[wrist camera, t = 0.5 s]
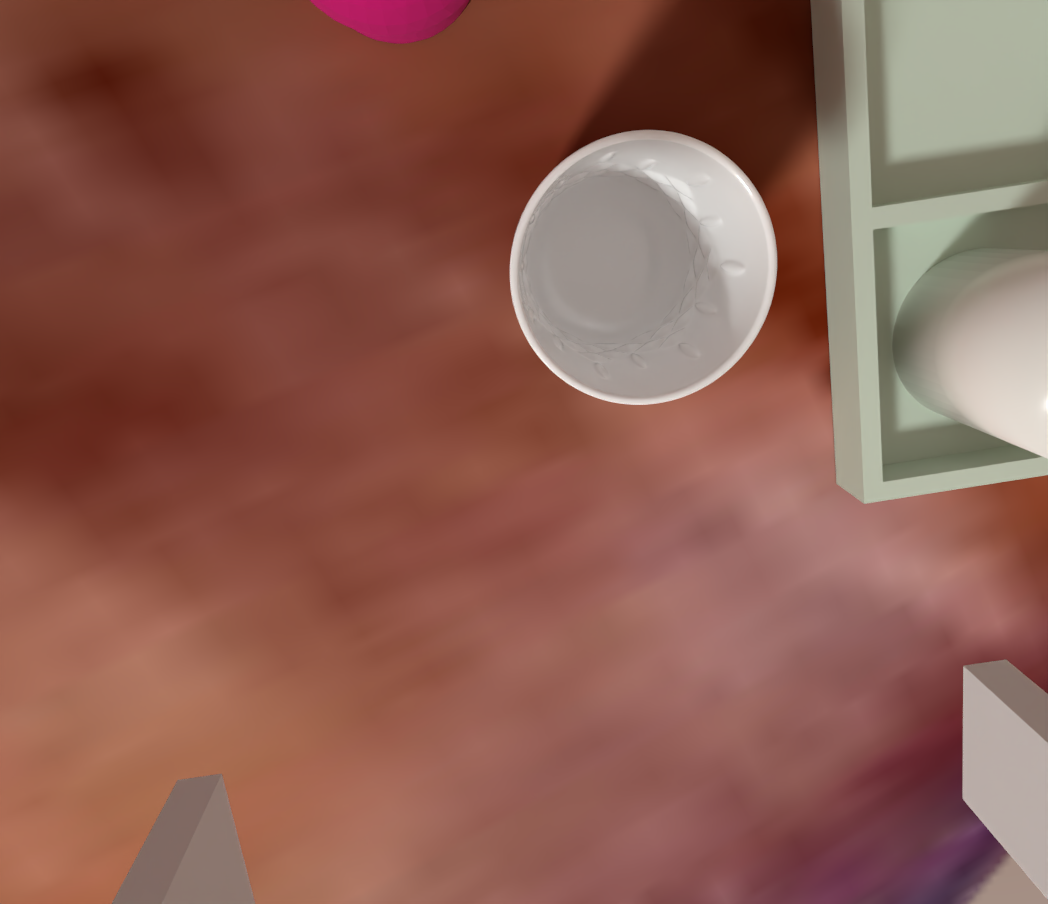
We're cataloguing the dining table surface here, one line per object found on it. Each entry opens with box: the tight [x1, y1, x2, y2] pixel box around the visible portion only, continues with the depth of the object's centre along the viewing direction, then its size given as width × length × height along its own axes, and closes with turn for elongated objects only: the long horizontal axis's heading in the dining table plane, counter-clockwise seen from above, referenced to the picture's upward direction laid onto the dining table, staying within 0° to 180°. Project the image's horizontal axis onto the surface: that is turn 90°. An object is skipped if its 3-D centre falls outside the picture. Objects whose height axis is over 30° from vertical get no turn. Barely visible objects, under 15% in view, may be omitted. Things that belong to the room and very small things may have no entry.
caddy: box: [811, 0, 1048, 504], centre depth 32 cm, size 33×12×3 cm, turn 8°
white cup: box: [510, 130, 777, 405], centre depth 30 cm, size 8×8×10 cm
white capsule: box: [892, 248, 1048, 459], centre depth 31 cm, size 7×7×9 cm
